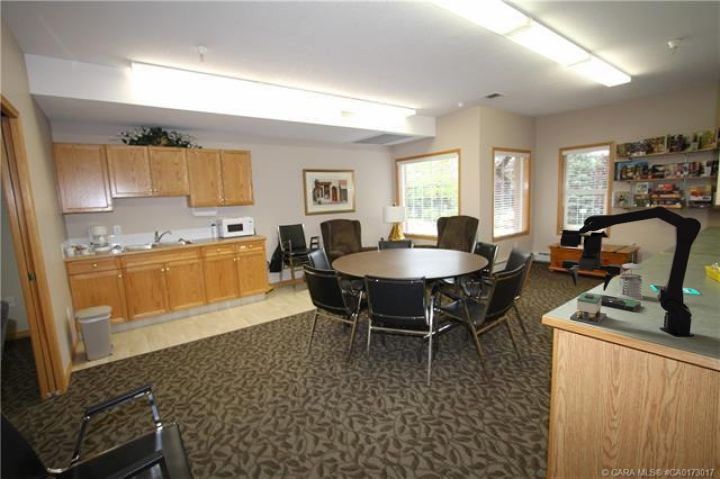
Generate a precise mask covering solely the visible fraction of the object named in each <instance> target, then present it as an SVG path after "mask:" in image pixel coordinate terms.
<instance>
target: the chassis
mask: <svg viewBox="0 0 720 479" xmlns="http://www.w3.org/2000/svg"><path fill="white" fill-rule="evenodd" d="M601 307H602V306H601ZM601 307H600V308H599V310H598V311H597V313H596V314H595V313H590V312H584V311H579V310H577V309H576V311H575V312H574V313H573V314H572V315H571V316H570V317H569V320H571V321H576V322H580V323H585V324H590V325H594V326H599V325H600V324H601V323H602V322H603V321H604V320H605V319H606V318H607V312H606V313H605V312H601V309H602V308H601Z"/></svg>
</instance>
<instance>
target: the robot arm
mask: <svg viewBox="0 0 720 479" xmlns="http://www.w3.org/2000/svg"><path fill="white" fill-rule="evenodd" d="M651 219H659V220H661V221H663V222H665V223H667V224H669V225H670V226H673V227H674V239H675V245H674V249H673V255H672V259H671V264H670V269H669V273H668V279H667V282H666V284H665V285H659V286H660V292H658V294H657V295H656V296H657V301H658V302H659V303H660V307H661V308H662V309H663V310H664V311H665V315H664V317H663V318H664V319H663V327H662V326H661V327H659V330H660V331H663V332H665V333H667V334H670V335H671V336H674V337H695V333H692V332H691V327H692V316H693V314H692V312H691V309H690V308H689V306H687V304H686V303H684V302H685V301H684V299H685V298H684V294H683V288H684V281H685V279H686V278H685V276H686V273H687V269H688V263H689V258H690V254H691V250H692V245H693V244H694V242H695V241H696V239H697V237H698V235H699V233H700V231H701V228H702V224H701V222H700V220H698V219H697V218H696V217H693V216H687V215H686V216H682V215H680V214H678V213H676V212H674V211H672V210H669V209H667V208H666V207H665V206H662V205H657V206H656V205H655V206H653V207H647V208H641V209H637V210H632V211H626V212H621V213H616V214H592V215H590V216H588V217H587V218H585V219H584V223H583V226H582V227H579V230H573V229H571V230H570V229H563V230H562V233H561V237H560V239H559V241H560V242H559V243H560V247H562V248H576V249H577V248H579V246H582V245H583V246H582V253H581V257H580V258H579V260H576V259H564V260H563V261H562V263H561V269H564V270H565V271H567V272H568V273H569V274H570V276H571V278H572V281H573V284H574V287H578V280H579V279H578V277H579V275H578V274H579V272H578V270H579V271H588V272H594V271H595V270H597V271H606V273H605V275H604V278H605V279H604V283H603V288H602V290H603V292H605V291H606V290H607V288H608V286H609V284H610V282H611V280H612V279H613V278H614V277H617V276H620V275H622V274H624V268H623V266H622V265H623V264H618V263H617V264H615V263H609V264H608V265H604V264H603V261H602V252H603V251H602V246H603V238H607V239H608V238H609V234H608V233H606V231H605V230H604V229H606V228H610V227H612V226H615V225H622V224H627V223H635V222H640V221H646V220H651ZM601 230H602V231H601ZM598 231H601V232H598ZM590 232H591V233H590ZM587 233H590V234H587ZM582 243H583V244H582ZM621 273H622V274H621ZM663 286H665V287H663Z"/></svg>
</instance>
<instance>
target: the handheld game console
mask: <svg viewBox="0 0 720 479" xmlns="http://www.w3.org/2000/svg"><path fill="white" fill-rule="evenodd" d="M660 286H661V285H654V284H653V285H652V284H650V288H651V289H652V290H653V291H654V292H657V293H659V292H660ZM662 286H663V287H665V286H666V285H662ZM683 295H690V296H691V295H692V296H693V295H694V296H701V293H699V291H697V290H696V289H694V288H690V287H683Z"/></svg>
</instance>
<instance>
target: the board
mask: <svg viewBox="0 0 720 479" xmlns="http://www.w3.org/2000/svg"><path fill="white" fill-rule="evenodd" d="M602 295H603V294H601V295H600V294H599V293H592V292H585V291H584V292H582V293H581V294H580V296H578V297H577V301H576V302H577V303H576V311H577V310H579V311H584V312H590V313H595V314H596V313H597V311H598V310H599V308H600V307H602V306H601V300H602Z"/></svg>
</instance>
